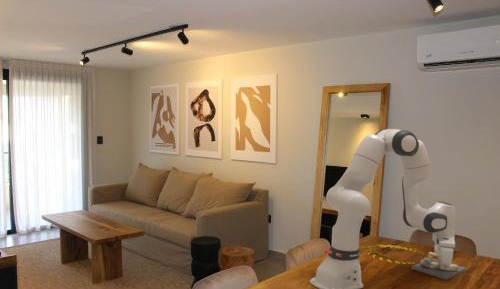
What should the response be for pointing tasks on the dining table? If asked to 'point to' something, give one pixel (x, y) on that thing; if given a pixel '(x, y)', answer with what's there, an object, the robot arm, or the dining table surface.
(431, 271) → the pintle board
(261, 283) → the dining table surface
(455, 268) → the link
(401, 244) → the decorative wreath
